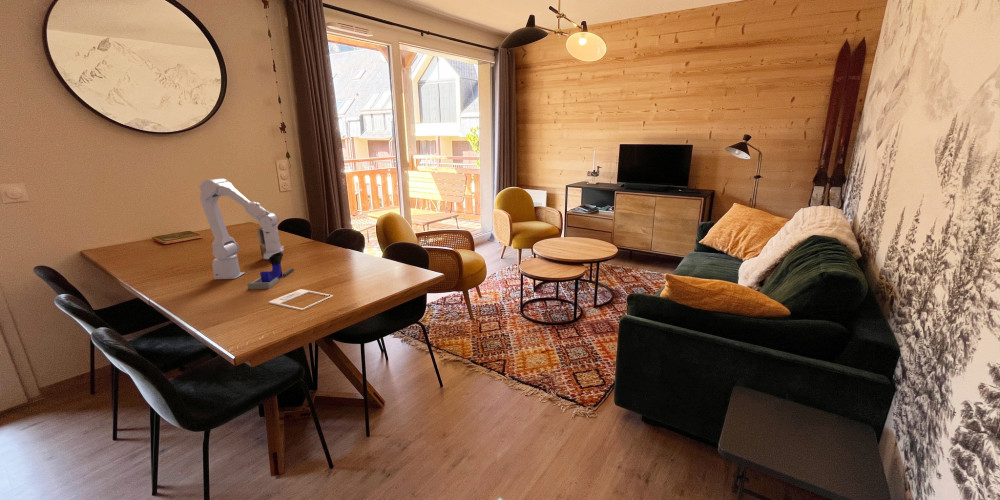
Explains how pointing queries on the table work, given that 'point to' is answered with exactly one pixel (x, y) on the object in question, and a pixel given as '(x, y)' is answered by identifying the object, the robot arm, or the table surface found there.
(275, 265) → the cable clip
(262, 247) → the coffee box
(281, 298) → the photo frame
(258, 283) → the bracket
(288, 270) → the guide channel
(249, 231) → the table surface
